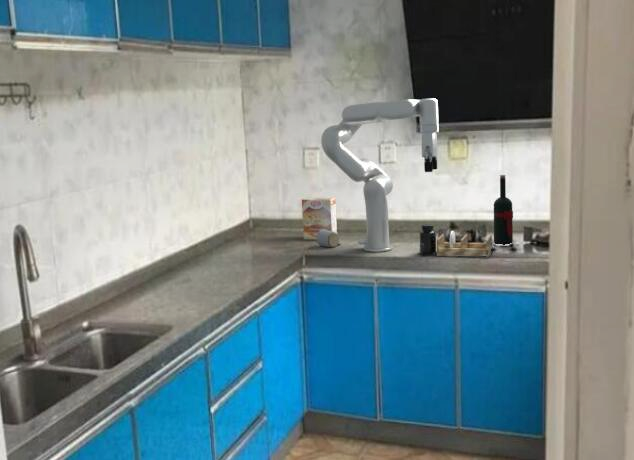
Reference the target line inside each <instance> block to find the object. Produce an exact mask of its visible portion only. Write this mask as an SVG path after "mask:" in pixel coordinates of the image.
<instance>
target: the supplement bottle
mask: <svg viewBox="0 0 634 460" xmlns="http://www.w3.org/2000/svg"><path fill="white" fill-rule="evenodd" d="M418 236H419V253H420V254H421V255H425V254H430V255H434V254H433V253H435V254H437V233H436V230H434V224H432V223H424V224H421V231H420V232H419V235H418Z"/></svg>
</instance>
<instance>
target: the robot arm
mask: <svg viewBox="0 0 634 460" xmlns="http://www.w3.org/2000/svg"><path fill="white" fill-rule="evenodd" d="M438 105H439V104H438V99H436V98H434V97H433V98H422V99H411V98H410V99H402V100H394V101H393V100H392V101H383V102H381V101H375V102H374V101H373V102H367V103H366V102H365V103H356V104H350V105H347V106H345V107H344V108H343V109H342V113H341V118H342V119H341V121H340V122H339V123H338V124H335V125H334V124H333V125H331V126H328V127H326V128H325V129H324V130H323V133H322V135H321V140H320V141H321V142H320V144H321V148H322V150H323V152H324V154H325V155H326V157H327V158H328V159H330V160H331V162H332V163H334V164H335V165H336V166H337V167H338V168H339V169H340V170H341V171H342V172H343V173H344V174H345V175H346V176H347V177H348V178H349V179H350V180H352V181H353V182H355V183H360V182H361V183H362V182H363V183H364V185H363V190H362V191H363V197H364V203H365V220H366V222H365V224H366V238H365V239H358V241H357V243H358V245H364V247H363V250H364V251H366V252H372V253H373V252H374V253H379V252H380V253H381V252H389V251H392V250H393V249H394V245H392V244H390V234H389V233H390V231H389V226H390V225H389V224H390V223H389V206H388V201H387V195H389V194H391V192H392V191H393V187H394V183H393V180H392V179H391V178H390V176H389V175H388V174H387V173H386V172H385V171H383V170H382V169H381V168H380V167H379V166H378V165H377V164H376V163H374V162H373V161H372V160H370V159H368V158H359V157H358V156H356V154H354V153H353V152H352V151H351V150H350V149H348V148H347V147H345V146H344V144H346V143H348V142H349V141H350V140H351V139H352V138H353V137H354V135H355V134H356V133H357V132H358V131H359V129H360V128H361V127H363V125H364V124H365V125H366V124H373V123H375V124H376V123H383V122H385V121H393V120H403V119H404V120H406V119H410V118H411V119H412V118H416V117H419V130H420V131H419V132H420V134H421V157H422V158H424V159H423V160H424V163H423V165H424V173H433V170H438V158H437V157H438V156H437V155H438V137H437V133H439V131H440V127H439V106H438Z"/></svg>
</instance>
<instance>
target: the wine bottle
mask: <svg viewBox="0 0 634 460" xmlns="http://www.w3.org/2000/svg"><path fill="white" fill-rule="evenodd" d="M499 182H500V183H499V195H500V197H498V198H496V199H495V201H494V202H493V244H494V243H495V244H503V245H505V244H510V243H512V242H513V241H514V240H513V239H514V238H513V237H514V236H513V235H514V234H513V233H514V231H513V219H514V212H513V211H514V210H513V202H512V200H511V199H510V198H509V197H506V189H507V188H506V175H505V174H499ZM513 243H514V242H513Z"/></svg>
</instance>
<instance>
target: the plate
mask: <svg viewBox="0 0 634 460" xmlns="http://www.w3.org/2000/svg"><path fill="white" fill-rule="evenodd" d="M449 243H450V248H455V243H456V233H455V231H454V230H451V231H450V233H449Z"/></svg>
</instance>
